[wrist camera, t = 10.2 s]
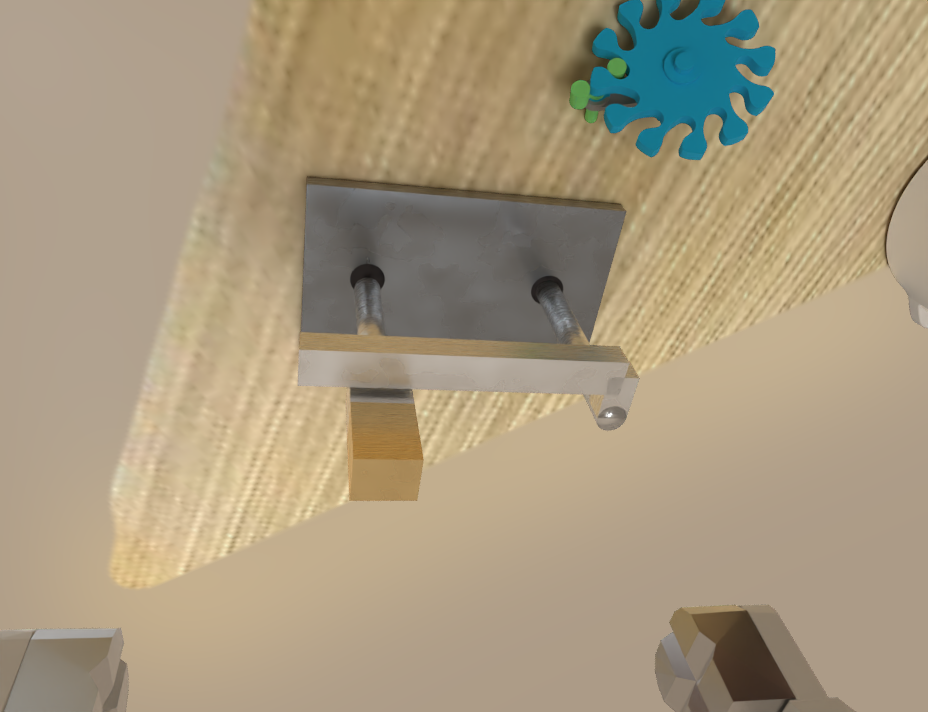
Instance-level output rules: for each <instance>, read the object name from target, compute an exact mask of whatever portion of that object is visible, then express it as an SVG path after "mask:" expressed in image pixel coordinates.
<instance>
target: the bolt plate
mask: <svg viewBox="0 0 928 712" xmlns="http://www.w3.org/2000/svg"><path fill="white" fill-rule="evenodd" d="M625 215H626V210H625V209H624V208H623V207H622V206H621V204H613V203H602V202H590V201H579V200H567V199H556V198H544V197H533V196H522V195H510V194H499V193H487V192H476V191H465V190H453V189H442V188H430V187H419V186H408V185H396V184H385V183H373V182H362V181H350V180H339V179H328V178H316V177H307V192H306V218H305V244H304V271H303V297H302V324H301V332H309V333H332V334H354V335H357V321H356V306H355V292H354V288H355V285H356V283H357V282H358V281H359V280H361V279H363V278H372V279H374V280H376V281H377V282H378V283H379V285H380V291H381V299H382V306H383V314H384V322H385V330H386V336H398V337H420V338H442V339H465V340H487V341H509V342H531V343H553V344H559V342H558V340H557V338H556V336H555V334H554V332H553V330H552V328H551V325H550V323H549V321H548V319H547V317H546V315H545V313H544V311H543V309H542V306H541V304H540V302H539V300H538V298H537V296H536V288H537V286H538V285H539V284H540V283H541V282H543V281H546V280H552V281H555V282H556V283H557V284H558V286H559V288H560V290H561V292H562V293H563V295H564V297H565V299H566V301H567V303H568V305H569V307H570V308H571V310H572V312H573V314H574V316H575V318H576V320H577V322H578V323H579V325H580V327H581V329H582V331H583V333H584V335H585V337H586V338H587V340H588V342H590V338H591V335H592V331H593V328H594V324H595V321H596V317H597V313H598V310H599V306H600V303H601V299H602V296H603V292H604V289H605V285H606V282H607V278H608V275H609V271H610V268H611V264H612V260H613V257H614V253H615V250H616V246H617V243H618V239H619V236H620V232H621V229H622V225H623V222H624V218H625Z"/></svg>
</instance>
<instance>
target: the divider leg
mask: <svg viewBox="0 0 928 712" xmlns="http://www.w3.org/2000/svg"><path fill="white" fill-rule="evenodd" d="M354 292H355V306H356V321H357V335H376V336H386V330H385V322H384V314H383V306H382V299H381V291H380V285H379V283H378V282H377V281H376V280H374V279H372V278H363V279H361V280H359V281H358V282H357V283H356V285H355V288H354ZM346 425H347V450H348V476H349V501H364V500H365V501H374V500H375V501H380V500H381V501H382V500H383V501H389V500H390V501H394V500H395V501H401V500H402V501H408V500H409V501H414V500H415V501H417V498H418V492H419V485H420V479H421V473H422V466H423V454H422V448H421V442H420V435H419V429H418V423H417V417H416V411H415V405H414V398H413V392H412V389H393V388H360V387H347V394H346Z"/></svg>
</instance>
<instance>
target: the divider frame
mask: <svg viewBox="0 0 928 712" xmlns="http://www.w3.org/2000/svg"><path fill="white" fill-rule="evenodd" d="M536 296H537V298H538V300H539V302H540V304H541V306H542V309H543V311H544V313H545V315H546V317H547V319H548V321H549V323H550V325H551V328H552V330H553V332H554V334H555V336H556V338H557V340H558V342H559V344H553V343H531V342H509V341H487V340H465V339H442V338H420V337H398V336H376V335H354V334H332V333H309V332H300V342H299V366H298V386H327V387H360V388H393V389H425V390H458V391H491V392H524V393H557V394H583V395H584V397H585V399H586V402H587V404H588V406H589V408H590V410H591V412H592V414H593V416H594V418H595V420H596V423H597V425H598V426H599V427H600V428H601V429H603V430H614V429H617V428H618V427H620V426H621V425H622V424H623V423H624V422H625V420H626V417H627V414H628V411H629V408H630V405H631V402H632V399H633V397H634V394H635V391H636V388H637V385H638V382H639V379H640V378H639V376H638V375H637V373H636V371H635V370H634V368H633V366H632V365H631V363H630V362H629V361H628V359H627V358H626V356H625V354H624V353H623V351H622V349H621V348H620V346H598V345H590V344H589V342H588V340H587V338H586V337H585V335H584V333H583V331H582V329H581V327H580V325H579V323H578V322H577V320H576V318H575V316H574V314H573V312H572V310H571V308H570V307H569V305H568V303H567V301H566V299H565V297H564V295H563V293H562V292H561V290H560V288H559V286H558V284H557V283H556V282H555V281H552V280H546V281H543V282H541V283H540V284H539V285H538V286H537V288H536Z"/></svg>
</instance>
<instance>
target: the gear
mask: <svg viewBox="0 0 928 712" xmlns="http://www.w3.org/2000/svg"><path fill="white" fill-rule="evenodd" d="M680 1H681V0H656V5H657V7H658V10H659V21H658V24H657V25H656V26H655V27H654V28H652V29H645V28H643V27H642V26H641V25H640V23H639V22H640V19H641V15H642V12H643V4H642V2H641V1H640V0H630V1H627V2H625V3H623V4H621V5H619V10H618V15H617V18H618V21H619V23H620V24H621V25H622V26H624V27H625V28H626V29H627V30H628V31H629V33H630V34H631V37H632V39H633V43H634V49H632V50H630V51H625V50H622V49H621V48H620V47H619V46H618V41H617V36H616V33H615V32H614V31H613V30H612V29H609V28H605V29H604V30H602V31H601V32H600V33H599V35H598V36H597V37H596V39H595V40H594V42H593V47H592V52H593V53H594V54H595V55H596V56H597V57H600V58H606V59H609V60H610V61H609V63H608V66H607V69H606V68H603V67H595V68H594V69H593V71H592V74H591V79H590V80H588V81H587V82H586V81H584V80H578V81H575V82H574V83H573V84H572V86H571V93H570V100H569V101H570V105H571V106H572V107H573V108H574V109H583V108H586V113H585V120H586V121H587V122H588V123H594V122H595V121H596V120H597V116H598V111H602V110H605V113H604V120H605V124H606V126H607V128H608V129H609V131H610V133H617V132H620V131H621V130H622V129H623V128H624V127H625V126H626V125H627V124H629V123H630V122H632V121H634V120H636V119H640V118H646V117H655V118H657V120H658V121H660V123H661V125H660V126H659V127H656V128H648V129H645V130H643V131H642V132H641V133H640V134H639V136H638V139H637V142H636V146H637V148H638V149H639V150H640V151H641V152H643V153H644V154H646V155H648V156H649V157H653V156H655V155H656V154H657V153H658V152H659V149H660V147H661V145H662V142H663V137H664V136H665V135H666V133H667V132H668V131H669V130H671V129H672V128H673V127H675V126H676V125H678V124H680V123H686V124H688V125H689V126H690V127H691V128H692V133H690V134H689V135H688V136H686V137H685V138H684V140H683V141H682V144H681V146H680V148H679V156H680V157H682V158H685V159H691V160H700V159H701V158H702V156H703V155H704V153H705V151H706V149H707V142H706V140H705V137H704V133H703V126H704V121H705V118H706V117H707V116H708V115H710V114H716V115H718V116H720V117H721V118H722V120H723V126H722V128H721V131H720V133H719V140H720V142H721V143H722V144H723V145H724V146H727V145H732V144H735V143H737V142H739V141H741V140H743V139H744V138H745V136H746V135H747V133H748V126H747V124H746V123H745V122H744V121H743V120H742V119H740V118H739V117H738V116H737V115H736V113H735V112H734V110H733V108H732V106H731V102H730V97H729V94H730V93H732V92H737V93H739V94H741V95H742V96H743V98H744V102H745V107H746V110H747V111H748V112H749V113H750V114H752V115H755V116H757V115H758V114H760V113H761V112H762V111H763V110H764V109H765V107H766V106H767V104H768V103H769V101H770V100H771V98H772V97H773V95H774V93H773V91H772V90H771V89H770V88H769V87H766V86H761V85H757V84H754V83H752V82H750V81H749V80H747V79H746V78H745V77H744V76H743V75H742V74H741V73H740V72H739V71H738V70H737V68H736V66H735V65H737V64H744V65H746V66H747V67H748V68H749V69H750V70H751V71H752V72H753V73H754V74H756V75H758V76H767V75H768V73H769V72H770V70H771V69H772V67H773V65H774V62H775V48H773V47H771V46H763V47H760V48H756V49H743V48H739V47H736V46H733V45H731V44H729V43H728V42H727V41H726V40H725V38H726V37H735V38H737V39H740V40H749V39H751V38H753V37H754V36H755V34H756V32H757V30H758V28H759V23H758V20H757V18H756V16H755V14H754V13H753V11H752V10H744V11H742V12H741V13H739V15H738V16H737V17H736V18H734V19H733V20H731V21H730V22H727V23H725V24H721V25H714V26H707V25H705V24H704V23H703V22H702V21H701V19H703V18H707V17H714V16H716V15H718V14H719V13H720V12H721V10H722V7H723V5H724V3H725V0H700V1H699V4H698V7H697V8H696V9H695V11H694V12H693V13H691V14H690V15H689V16H687V17H686V18H684V19H682V20H675V19H673V18H672V17H671V16H670V13H672V12H673V11H675V10H676V9H677V8H678V7H679V4H680ZM625 73H626V74H627V77H624V75H625Z"/></svg>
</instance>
